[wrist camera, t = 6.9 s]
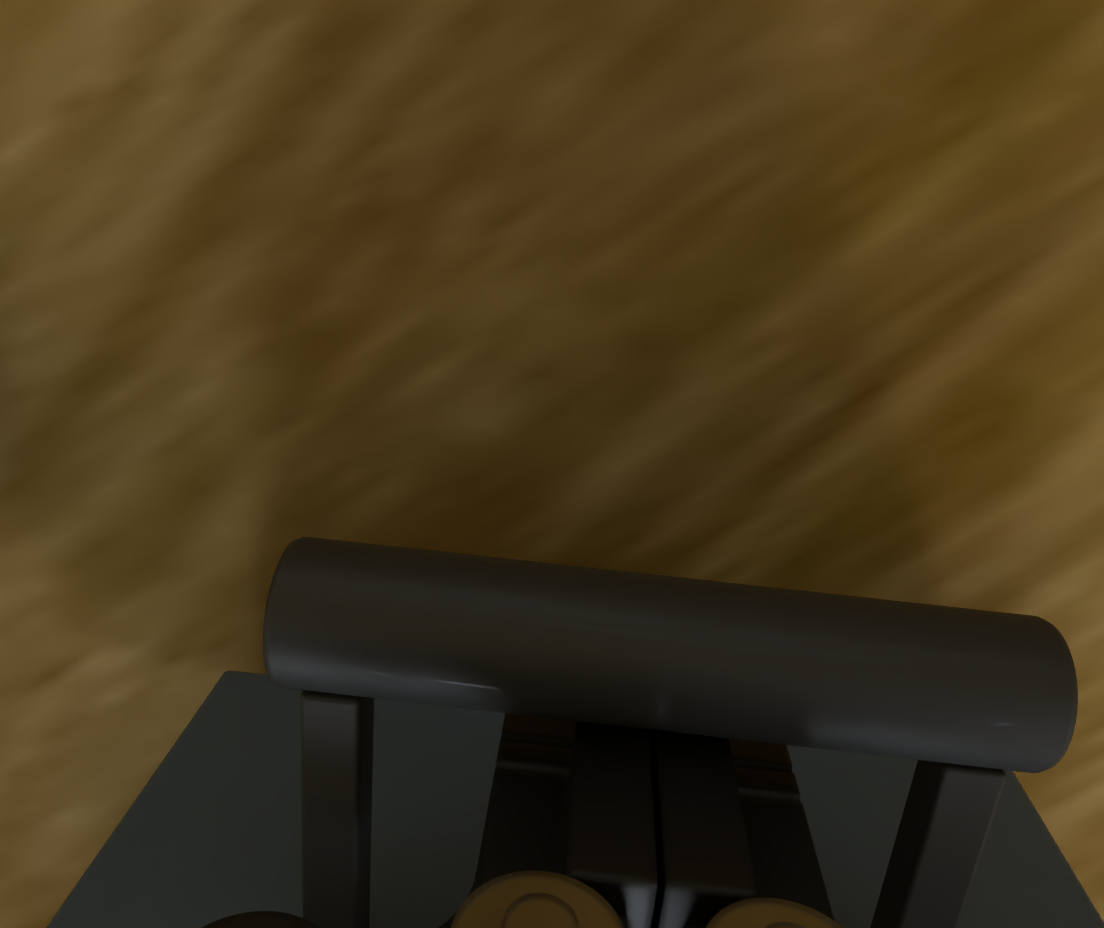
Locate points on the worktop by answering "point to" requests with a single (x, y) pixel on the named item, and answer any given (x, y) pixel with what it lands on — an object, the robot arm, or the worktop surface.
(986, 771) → the drawer
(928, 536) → the worktop surface
